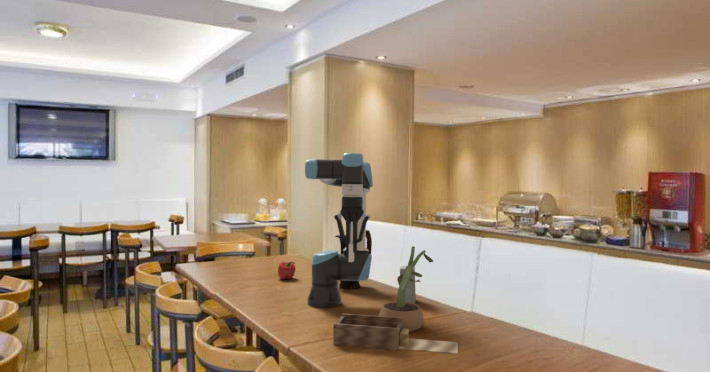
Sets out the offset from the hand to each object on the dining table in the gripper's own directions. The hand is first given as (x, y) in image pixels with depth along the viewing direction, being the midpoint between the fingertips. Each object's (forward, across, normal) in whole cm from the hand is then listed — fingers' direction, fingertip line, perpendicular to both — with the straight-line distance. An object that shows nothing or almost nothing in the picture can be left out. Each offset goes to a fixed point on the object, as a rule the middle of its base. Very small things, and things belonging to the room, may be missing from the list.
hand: (351, 261), depth 173 cm
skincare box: (+27, +16, +51) cm, 60 cm away
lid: (+27, +28, -6) cm, 40 cm away
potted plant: (+27, +19, +15) cm, 36 cm away
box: (+26, +8, -6) cm, 28 cm away
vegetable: (+27, -54, +83) cm, 103 cm away
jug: (+27, -15, +72) cm, 78 cm away
